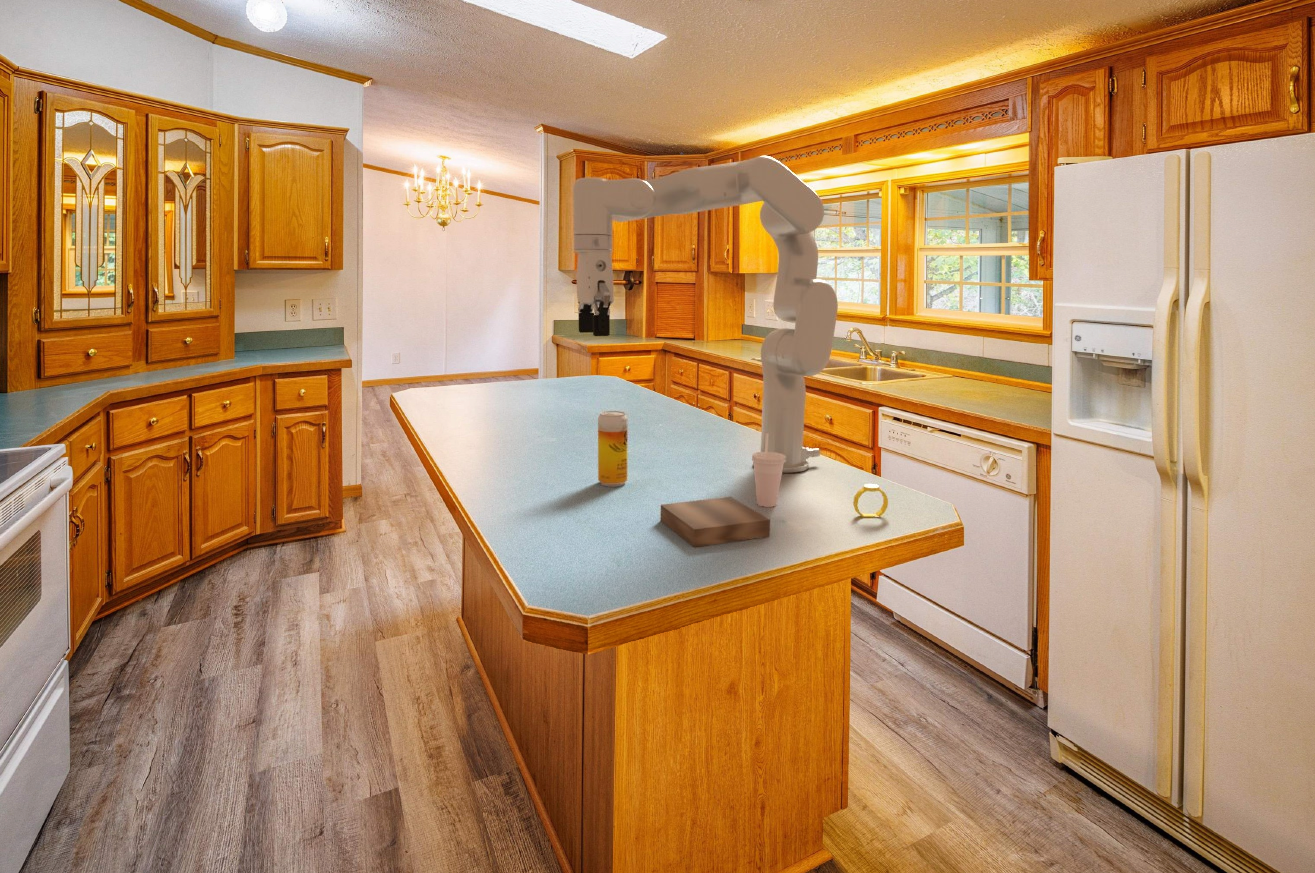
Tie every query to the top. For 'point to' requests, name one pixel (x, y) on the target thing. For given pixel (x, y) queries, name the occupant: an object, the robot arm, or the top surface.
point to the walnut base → (714, 521)
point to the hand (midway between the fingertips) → (593, 334)
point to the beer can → (612, 448)
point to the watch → (870, 488)
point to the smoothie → (767, 475)
